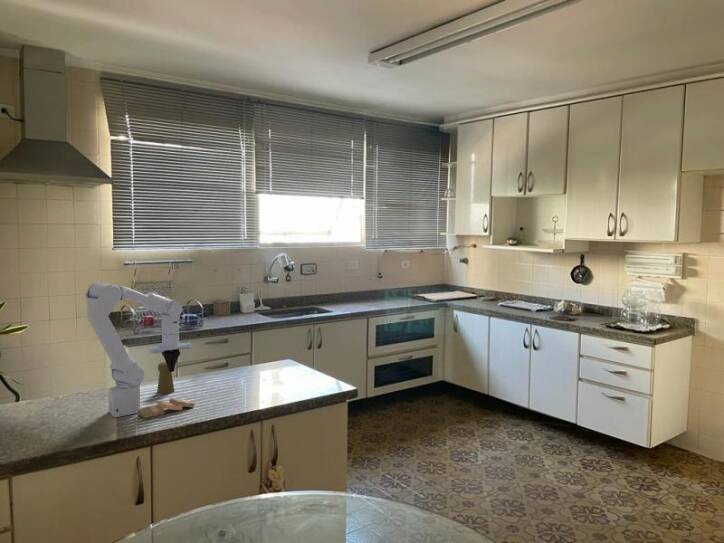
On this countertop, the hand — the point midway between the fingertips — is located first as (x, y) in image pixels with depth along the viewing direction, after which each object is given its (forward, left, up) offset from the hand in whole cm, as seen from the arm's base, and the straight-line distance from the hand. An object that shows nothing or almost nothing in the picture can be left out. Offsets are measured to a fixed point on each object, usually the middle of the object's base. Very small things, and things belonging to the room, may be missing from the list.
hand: (171, 371), depth 194 cm
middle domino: (-8, -13, -8) cm, 17 cm away
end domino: (+2, -12, -9) cm, 15 cm away
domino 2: (-2, -12, -9) cm, 15 cm away
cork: (+1, +9, -10) cm, 14 cm away
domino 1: (-8, -12, -10) cm, 17 cm away
